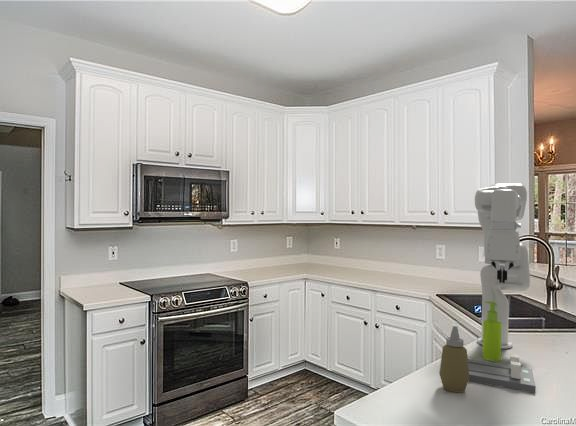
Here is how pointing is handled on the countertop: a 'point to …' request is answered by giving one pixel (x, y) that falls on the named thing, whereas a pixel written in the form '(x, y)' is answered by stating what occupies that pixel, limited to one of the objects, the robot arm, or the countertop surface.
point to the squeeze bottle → (454, 363)
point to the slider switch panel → (500, 375)
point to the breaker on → (514, 358)
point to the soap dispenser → (492, 335)
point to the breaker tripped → (515, 370)
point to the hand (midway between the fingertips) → (502, 282)
